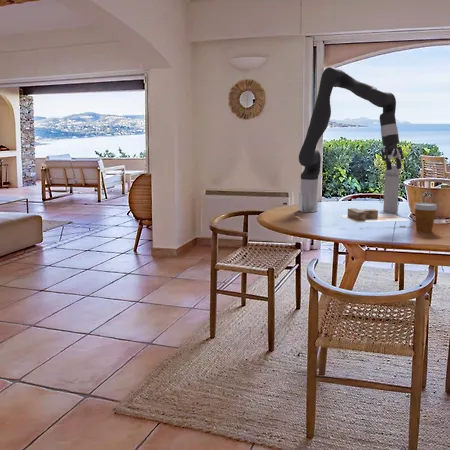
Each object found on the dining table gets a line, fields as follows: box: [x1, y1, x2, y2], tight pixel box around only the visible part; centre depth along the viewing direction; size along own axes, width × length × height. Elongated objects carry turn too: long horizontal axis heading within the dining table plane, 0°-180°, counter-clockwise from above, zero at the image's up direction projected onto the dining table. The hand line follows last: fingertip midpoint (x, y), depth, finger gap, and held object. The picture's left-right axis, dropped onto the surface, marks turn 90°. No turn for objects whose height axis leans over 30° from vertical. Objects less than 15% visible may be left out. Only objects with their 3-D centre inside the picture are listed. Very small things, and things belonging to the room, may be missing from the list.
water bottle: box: [379, 164, 401, 214], centre depth 287 cm, size 9×8×25 cm
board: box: [338, 213, 411, 224], centre depth 266 cm, size 28×20×1 cm
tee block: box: [347, 207, 379, 221], centre depth 265 cm, size 12×12×4 cm
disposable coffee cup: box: [413, 202, 438, 234], centre depth 239 cm, size 10×10×12 cm
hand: (394, 169), depth 256 cm, fingers open, 8 cm apart
